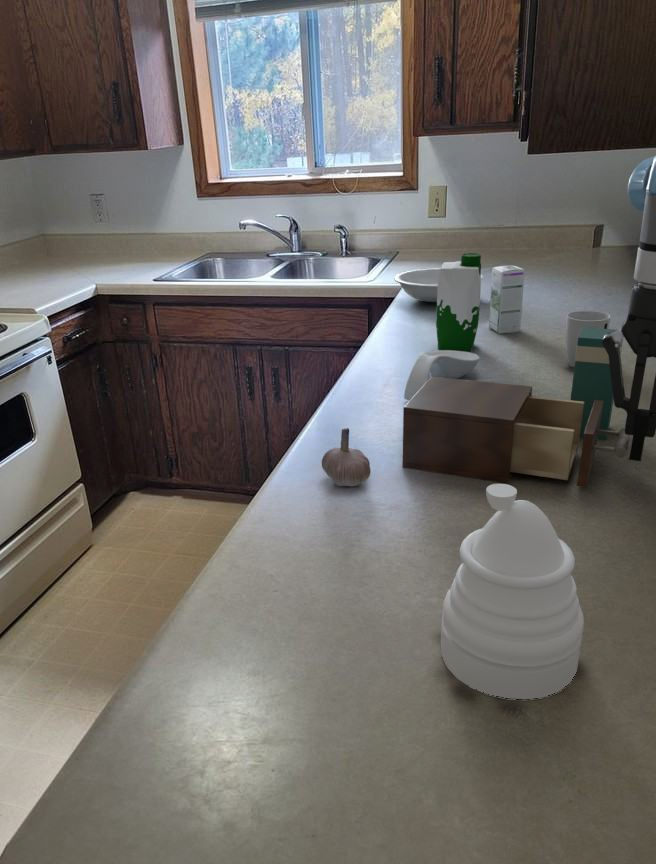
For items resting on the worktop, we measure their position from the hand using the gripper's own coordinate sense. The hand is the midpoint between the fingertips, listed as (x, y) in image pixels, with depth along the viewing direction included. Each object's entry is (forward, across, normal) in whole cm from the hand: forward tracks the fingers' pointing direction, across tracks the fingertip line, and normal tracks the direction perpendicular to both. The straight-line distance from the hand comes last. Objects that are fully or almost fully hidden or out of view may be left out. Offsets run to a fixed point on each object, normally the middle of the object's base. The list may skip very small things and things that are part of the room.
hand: (635, 456), depth 102 cm
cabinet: (+4, -23, 0) cm, 24 cm away
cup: (+4, -12, +51) cm, 53 cm away
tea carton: (+4, -7, +16) cm, 18 cm away
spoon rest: (+4, -36, +31) cm, 48 cm away
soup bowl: (+4, -55, +99) cm, 114 cm away
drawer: (+3, -11, 0) cm, 11 cm away
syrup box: (+4, -32, +73) cm, 80 cm away
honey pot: (+4, -9, -44) cm, 45 cm away
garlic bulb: (+4, -38, -14) cm, 40 cm away
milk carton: (+4, -39, +56) cm, 69 cm away
